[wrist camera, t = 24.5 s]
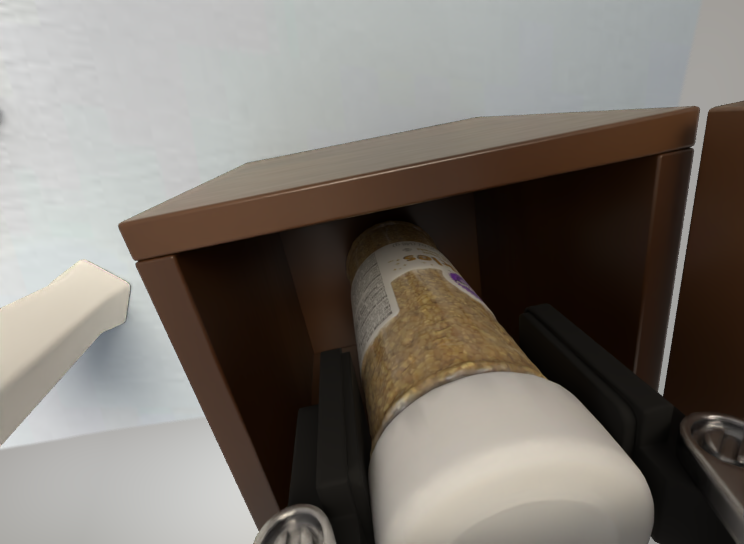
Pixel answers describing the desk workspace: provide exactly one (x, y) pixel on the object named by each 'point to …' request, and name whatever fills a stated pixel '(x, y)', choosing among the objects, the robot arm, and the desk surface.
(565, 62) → the desk surface
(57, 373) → the white faceted vase
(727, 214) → the lid
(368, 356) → the sprinkles bottle
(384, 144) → the chest
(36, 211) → the desk surface
